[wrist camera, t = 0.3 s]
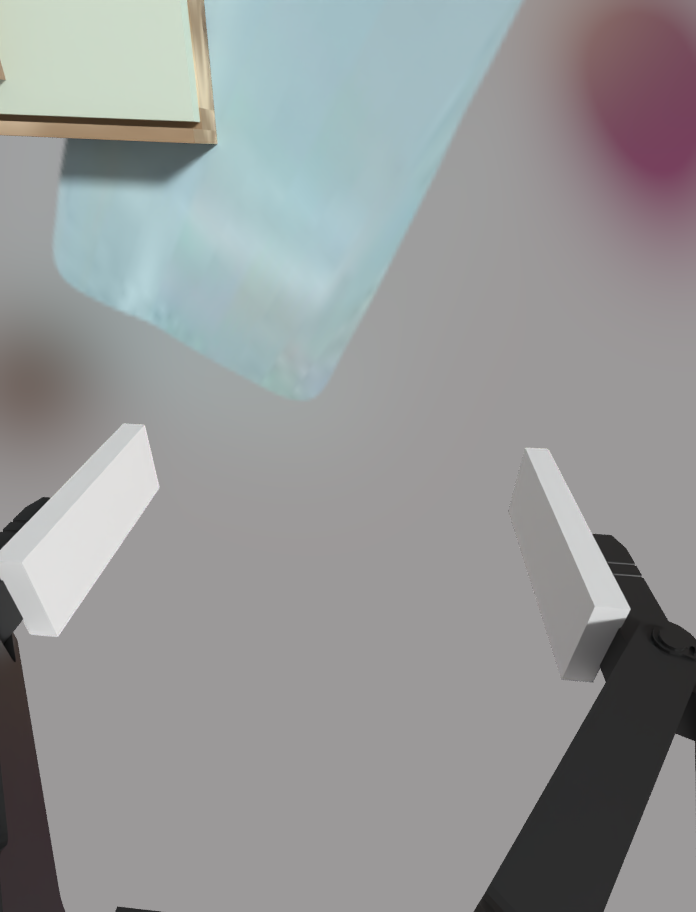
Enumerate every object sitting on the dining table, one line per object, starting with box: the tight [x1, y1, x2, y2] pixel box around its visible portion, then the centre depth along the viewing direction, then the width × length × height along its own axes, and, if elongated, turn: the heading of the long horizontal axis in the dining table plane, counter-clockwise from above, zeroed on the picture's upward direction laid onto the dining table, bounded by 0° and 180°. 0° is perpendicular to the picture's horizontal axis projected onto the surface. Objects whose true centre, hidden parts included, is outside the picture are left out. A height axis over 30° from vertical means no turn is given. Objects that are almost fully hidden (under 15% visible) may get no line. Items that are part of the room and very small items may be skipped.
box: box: [0, 0, 217, 144], centre depth 30 cm, size 14×16×5 cm
